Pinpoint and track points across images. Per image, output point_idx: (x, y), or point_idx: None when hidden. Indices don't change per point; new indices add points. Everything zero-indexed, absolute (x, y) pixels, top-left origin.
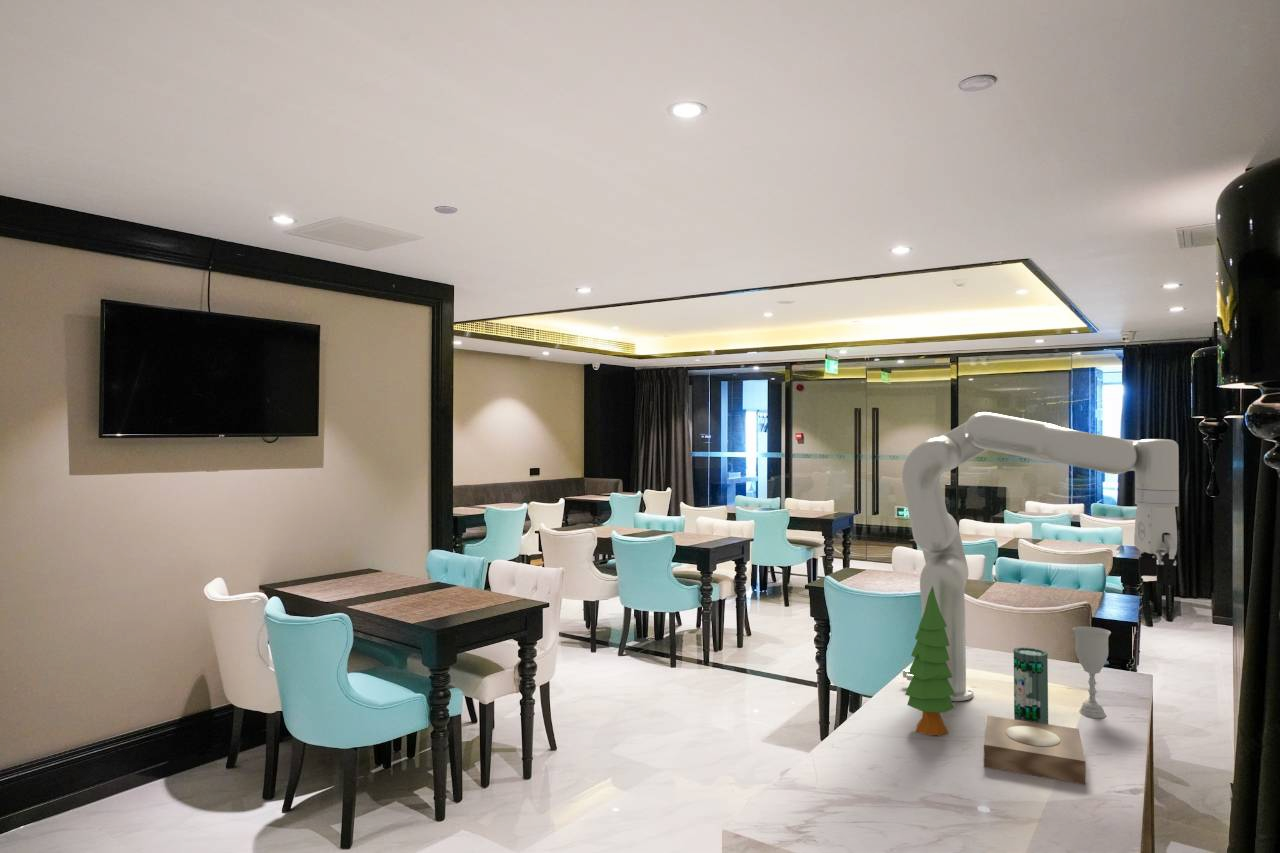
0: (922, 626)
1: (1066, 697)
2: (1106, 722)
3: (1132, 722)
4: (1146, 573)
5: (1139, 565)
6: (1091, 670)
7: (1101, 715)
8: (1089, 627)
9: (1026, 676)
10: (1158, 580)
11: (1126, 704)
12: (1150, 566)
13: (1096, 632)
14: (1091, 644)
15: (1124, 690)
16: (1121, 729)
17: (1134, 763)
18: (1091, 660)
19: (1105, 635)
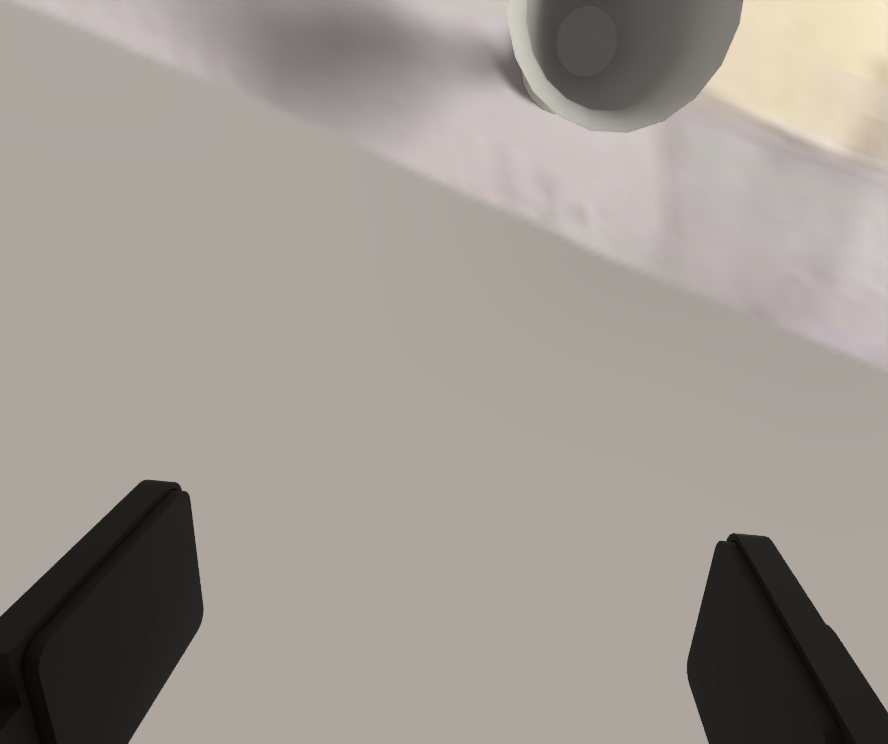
0: None
1: (755, 18)
2: (478, 86)
3: (496, 183)
4: (713, 605)
5: (799, 622)
6: (552, 24)
7: (529, 86)
8: (732, 22)
9: None
10: (123, 503)
11: (685, 236)
12: (735, 722)
13: (689, 67)
14: None
15: (850, 293)
16: (418, 116)
17: (125, 43)
18: (533, 6)
19: (524, 68)
